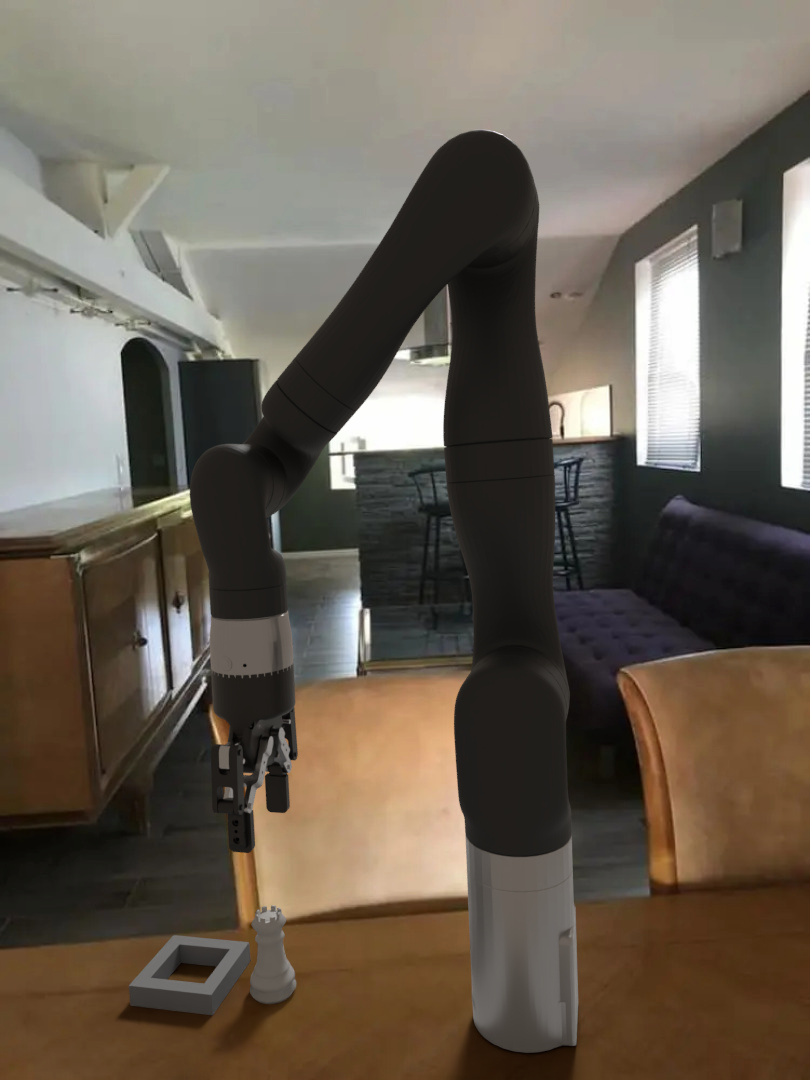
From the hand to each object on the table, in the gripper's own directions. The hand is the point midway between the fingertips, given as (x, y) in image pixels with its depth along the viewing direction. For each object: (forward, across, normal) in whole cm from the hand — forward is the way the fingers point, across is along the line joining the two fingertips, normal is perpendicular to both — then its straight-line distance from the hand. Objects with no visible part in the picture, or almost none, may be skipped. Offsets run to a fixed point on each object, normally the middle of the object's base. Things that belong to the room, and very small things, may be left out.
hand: (261, 829), depth 79 cm
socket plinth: (+16, 0, +8) cm, 18 cm away
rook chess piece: (+16, 0, 0) cm, 16 cm away
